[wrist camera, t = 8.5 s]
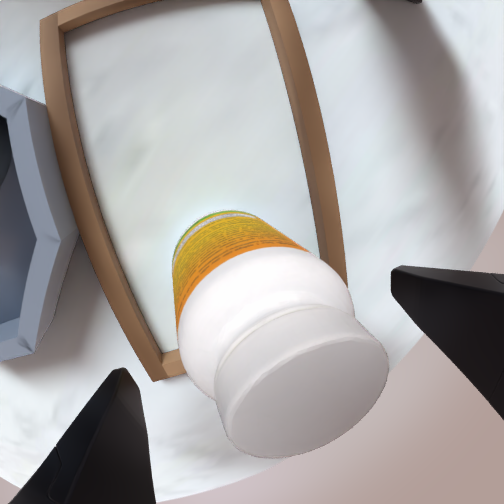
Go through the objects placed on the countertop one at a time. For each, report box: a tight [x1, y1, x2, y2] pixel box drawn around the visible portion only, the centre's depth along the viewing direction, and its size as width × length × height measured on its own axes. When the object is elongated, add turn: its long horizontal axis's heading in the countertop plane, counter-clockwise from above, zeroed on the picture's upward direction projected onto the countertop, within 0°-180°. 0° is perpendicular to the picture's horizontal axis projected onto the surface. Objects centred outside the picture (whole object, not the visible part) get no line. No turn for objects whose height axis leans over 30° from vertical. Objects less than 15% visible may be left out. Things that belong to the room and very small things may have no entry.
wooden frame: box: [40, 0, 348, 382], centre depth 12 cm, size 12×20×1 cm, turn 14°
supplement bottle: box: [172, 210, 389, 458], centre depth 10 cm, size 5×5×10 cm
